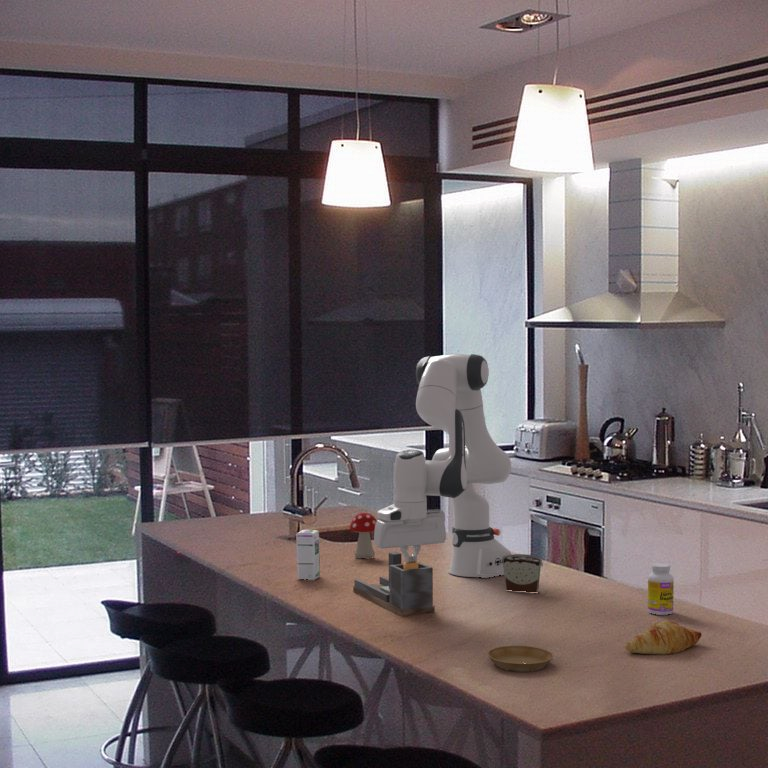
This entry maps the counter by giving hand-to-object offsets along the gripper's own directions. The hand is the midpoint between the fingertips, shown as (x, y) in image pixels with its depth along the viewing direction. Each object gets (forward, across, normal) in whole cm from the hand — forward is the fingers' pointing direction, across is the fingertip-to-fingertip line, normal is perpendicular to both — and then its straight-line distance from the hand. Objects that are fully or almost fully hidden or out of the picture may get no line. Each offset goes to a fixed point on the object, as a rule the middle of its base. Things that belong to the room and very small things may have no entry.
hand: (410, 562), depth 313 cm
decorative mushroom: (+13, -18, -72) cm, 75 cm away
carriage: (+11, 0, -10) cm, 15 cm away
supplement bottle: (+13, -58, +32) cm, 68 cm away
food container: (+13, -40, -7) cm, 43 cm away
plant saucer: (+14, 0, +56) cm, 58 cm away
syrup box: (+13, +10, -51) cm, 54 cm away
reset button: (+6, 0, 0) cm, 6 cm away
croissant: (+14, -37, +60) cm, 72 cm away
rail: (+13, 0, -12) cm, 18 cm away
